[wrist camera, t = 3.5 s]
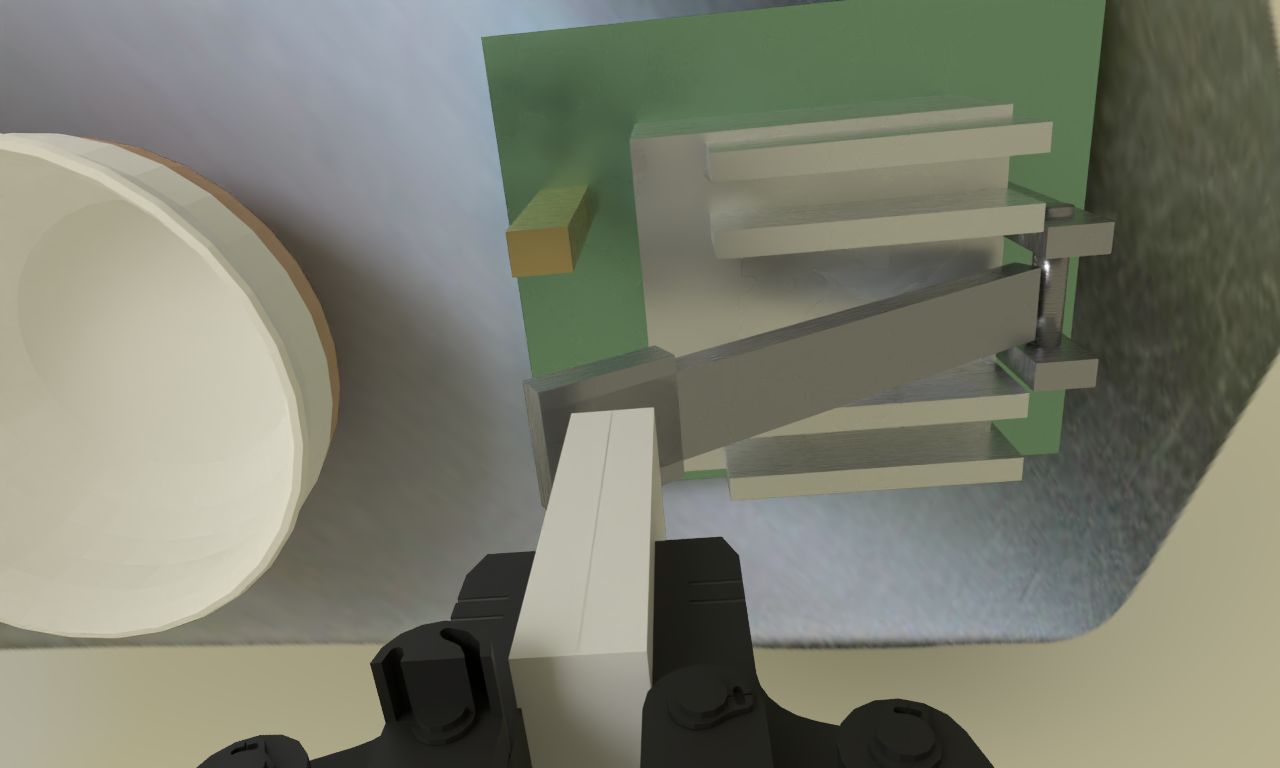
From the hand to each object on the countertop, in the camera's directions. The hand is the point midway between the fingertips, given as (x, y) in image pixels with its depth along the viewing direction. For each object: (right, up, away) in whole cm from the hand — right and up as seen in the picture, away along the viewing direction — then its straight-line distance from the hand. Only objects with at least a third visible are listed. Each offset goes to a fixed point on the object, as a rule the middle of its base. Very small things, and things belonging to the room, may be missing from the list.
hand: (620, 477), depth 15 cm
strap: (+4, +2, +4) cm, 7 cm away
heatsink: (+6, +6, +14) cm, 17 cm away
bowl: (-17, +4, +16) cm, 24 cm away
